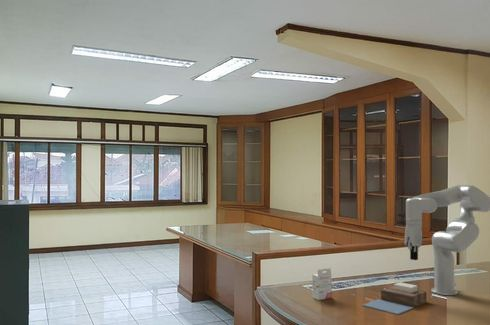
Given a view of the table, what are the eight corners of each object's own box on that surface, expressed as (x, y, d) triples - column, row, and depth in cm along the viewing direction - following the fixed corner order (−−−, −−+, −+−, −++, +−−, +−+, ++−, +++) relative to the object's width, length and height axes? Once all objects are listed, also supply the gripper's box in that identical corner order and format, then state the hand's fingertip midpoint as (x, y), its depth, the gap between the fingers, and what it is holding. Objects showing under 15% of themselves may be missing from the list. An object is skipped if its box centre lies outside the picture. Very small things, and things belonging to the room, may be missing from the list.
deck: (395, 295, 224) (395, 285, 224) (426, 301, 212) (426, 291, 212) (381, 300, 214) (380, 290, 215) (412, 307, 202) (411, 296, 203)
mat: (378, 300, 215) (378, 299, 215) (413, 308, 201) (413, 307, 201) (362, 305, 206) (362, 304, 206) (397, 314, 192) (397, 313, 192)
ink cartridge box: (325, 295, 223) (325, 266, 224) (332, 298, 219) (331, 268, 219) (312, 297, 219) (311, 268, 220) (318, 300, 215) (317, 269, 215)
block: (400, 287, 220) (400, 282, 220) (417, 290, 213) (417, 285, 213) (393, 289, 216) (393, 284, 216) (411, 293, 209) (411, 287, 209)
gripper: (414, 221, 229) (414, 256, 229) (399, 223, 219) (399, 260, 219) (428, 222, 224) (428, 258, 223) (413, 224, 214) (413, 262, 213)
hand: (414, 259), depth 221 cm, fingers closed
